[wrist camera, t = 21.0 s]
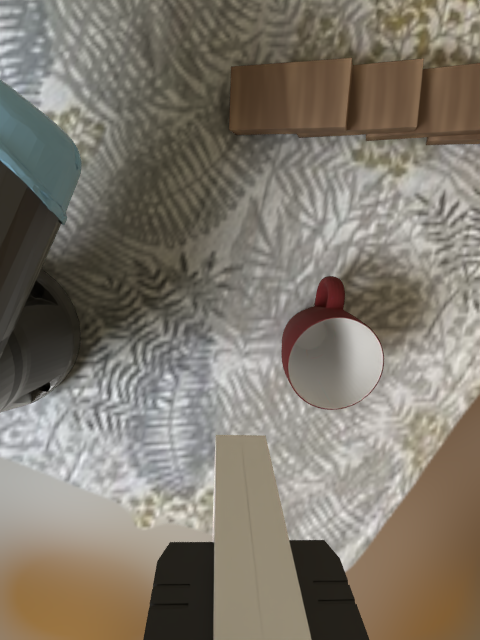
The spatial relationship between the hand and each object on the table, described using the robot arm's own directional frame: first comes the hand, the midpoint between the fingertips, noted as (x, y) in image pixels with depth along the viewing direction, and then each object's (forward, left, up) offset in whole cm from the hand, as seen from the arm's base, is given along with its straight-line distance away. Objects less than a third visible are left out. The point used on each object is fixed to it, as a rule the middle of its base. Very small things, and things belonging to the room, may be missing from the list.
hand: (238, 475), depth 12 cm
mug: (+9, -2, -30) cm, 31 cm away
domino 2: (+6, +18, -29) cm, 34 cm away
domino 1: (0, +18, -29) cm, 34 cm away
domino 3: (+12, +18, -29) cm, 36 cm away
